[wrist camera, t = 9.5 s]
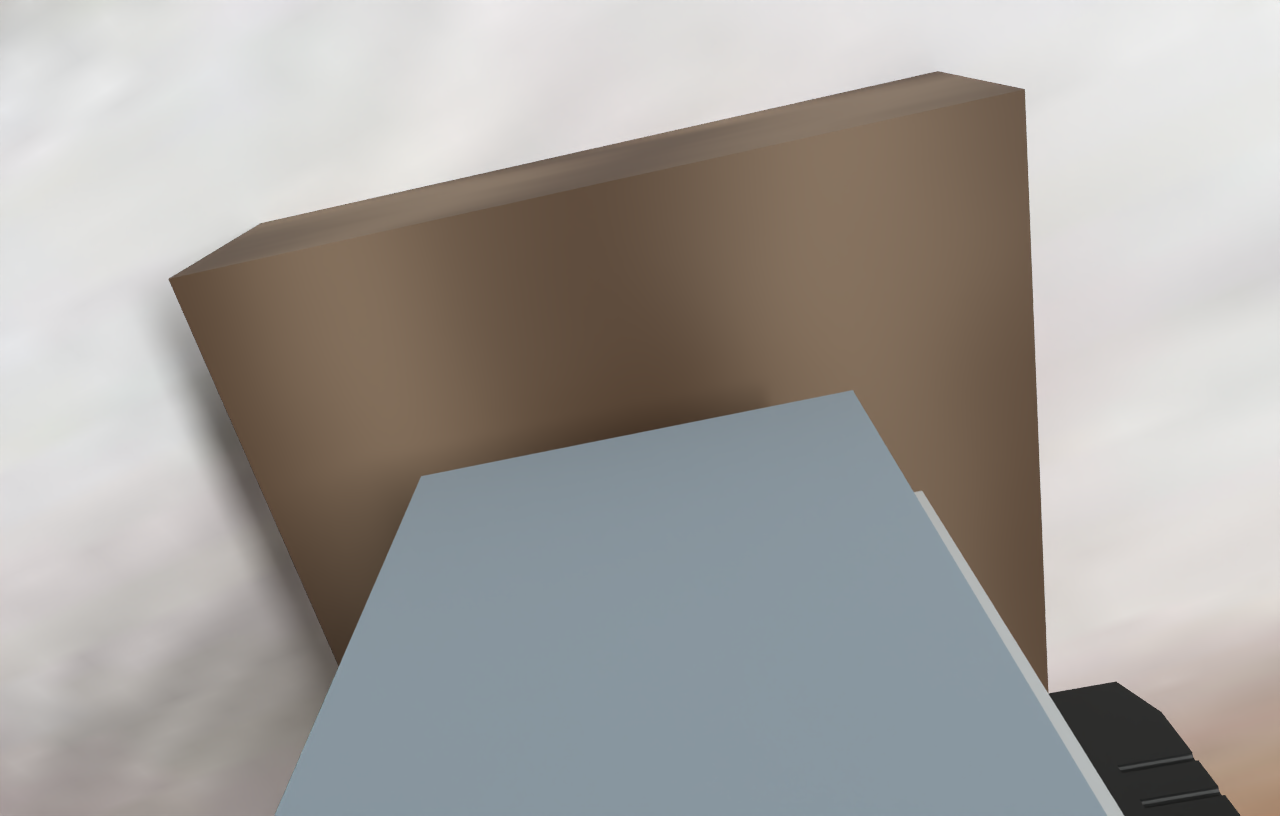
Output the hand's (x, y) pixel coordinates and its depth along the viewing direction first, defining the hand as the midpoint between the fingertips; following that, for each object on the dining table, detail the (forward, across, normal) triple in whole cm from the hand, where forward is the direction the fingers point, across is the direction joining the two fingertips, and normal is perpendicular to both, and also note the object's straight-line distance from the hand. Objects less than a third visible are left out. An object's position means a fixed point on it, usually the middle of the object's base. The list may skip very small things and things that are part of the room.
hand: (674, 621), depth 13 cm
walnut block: (+6, 0, 0) cm, 6 cm away
